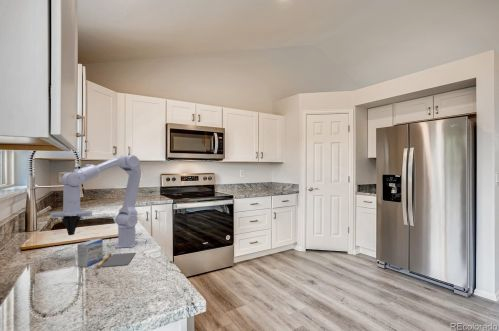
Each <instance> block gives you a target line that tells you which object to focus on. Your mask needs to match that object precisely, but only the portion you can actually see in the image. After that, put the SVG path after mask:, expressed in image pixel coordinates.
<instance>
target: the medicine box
mask: <svg viewBox="0 0 499 331" xmlns="http://www.w3.org/2000/svg"><path fill="white" fill-rule="evenodd" d="M103 250H104V239H103V238H93V239H89V240H87V241H84V242H80V243H78V244H77V267H83V268H89V267H90V266H93V265H95V264H96V263H100V262H101V261H102V260H103V259H104V258H103V256H104V251H103Z"/></svg>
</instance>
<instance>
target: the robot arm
mask: <svg viewBox="0 0 499 331" xmlns="http://www.w3.org/2000/svg"><path fill="white" fill-rule="evenodd" d="M140 164H141V160H140V159H139V158H138V157H137V155H135V154H129V155H119V156H115V157H113V158H110V159H108V160H106V161H103V162H101V163H99V164H96V165H95V164H84V167H80V168H79V169H78V168H76V169H73V172H65V173H64V174H63V175H62V177H61V179H60V182H61V184H62V185H63V192H62V194H63V196H62V198H63V201H62V204H63V207H62V208H63V209H62V211H58V212H57V211H55V212H50V213H49V218H50V219H53V218H61V222H62V223H63V224H64V226H65V229H66V231H67V234H68V236H73V235H75V232H76V229H77V226H78V223H79V222H80V220H81V219H82V217H87V218H89V217H92V216H93V211H92V210H89V211H88V210H87V211H86V210H81V186H82V184H83V183H84V182H87V181H90V180H92V179H95V178H96V177H98V176H99V175H100V173H101V172H104V171H106V170H109V169H111V168H114V167H118V168H120V169H121V170H123V171H124V172H125V173H127V175H128V178H127V184H126V188H125V193H124V198H123V203H122V206H121V208H120V209H119V210H118V214H117V215H116V216H115V223H116V225H117V228H118V229H117V231H118V233H117V235H118V236H117V245H115V247H114V248H115V249H120V248H121V249H123V248H134V247H135V245H136V244H137V243H138V240H136V225H137V224H138V221H139V219H138V210H137V209H136V203H137V197H138V192H139V187H140V182H141V178H142V177H141V176H142V170H141V165H140ZM136 242H137V243H136Z"/></svg>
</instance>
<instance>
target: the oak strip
mask: <svg viewBox="0 0 499 331" xmlns="http://www.w3.org/2000/svg"><path fill="white" fill-rule="evenodd" d="M111 256H112V252H111V253H110V252H109V253H107V254H106V256H104V258H103V260H101V261H99V262H98V264H96V270H97V269H98V270H99V269H101V268H103V267H102V266H103V265H104V264H105V263H106V262H107V260H108V259H109V258H110V257H111Z"/></svg>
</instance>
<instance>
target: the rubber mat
mask: <svg viewBox="0 0 499 331" xmlns="http://www.w3.org/2000/svg"><path fill="white" fill-rule="evenodd" d="M136 254H137V253H136V252H126V253H113V254H111V257H110V258H109V259H108V260H107V261H106V262H105V263H104V264H103V265H102V267H101V268H110V267H123V266H129V264H130V262H131V261H132V259H133V258H134V256H135V255H136Z"/></svg>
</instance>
